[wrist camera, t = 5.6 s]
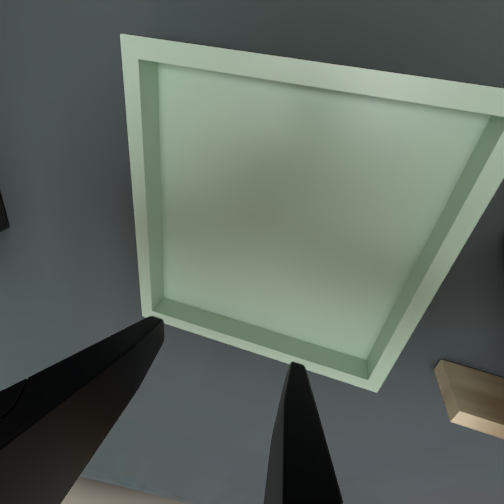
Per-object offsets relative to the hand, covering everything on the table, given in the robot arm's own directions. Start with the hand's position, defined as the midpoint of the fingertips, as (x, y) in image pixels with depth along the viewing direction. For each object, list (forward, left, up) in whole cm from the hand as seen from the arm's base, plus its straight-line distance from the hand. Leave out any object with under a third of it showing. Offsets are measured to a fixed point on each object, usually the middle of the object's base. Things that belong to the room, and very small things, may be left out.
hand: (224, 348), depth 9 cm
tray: (0, 0, -10) cm, 10 cm away
